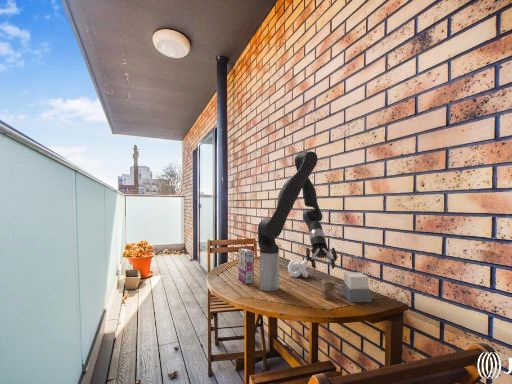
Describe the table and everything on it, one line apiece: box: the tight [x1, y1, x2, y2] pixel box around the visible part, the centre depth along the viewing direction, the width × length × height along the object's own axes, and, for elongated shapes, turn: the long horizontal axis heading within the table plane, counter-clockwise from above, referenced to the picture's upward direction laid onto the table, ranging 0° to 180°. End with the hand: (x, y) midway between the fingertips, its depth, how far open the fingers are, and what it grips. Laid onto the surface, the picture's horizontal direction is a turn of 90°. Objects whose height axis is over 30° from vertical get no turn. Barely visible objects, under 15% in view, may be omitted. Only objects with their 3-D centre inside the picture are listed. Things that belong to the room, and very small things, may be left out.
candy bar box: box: [238, 248, 255, 285], centre depth 133 cm, size 11×5×16 cm, turn 22°
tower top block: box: [343, 271, 370, 289], centre depth 108 cm, size 8×8×5 cm
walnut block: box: [321, 279, 336, 301], centre depth 108 cm, size 4×4×7 cm
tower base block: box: [341, 283, 373, 303], centre depth 107 cm, size 9×9×5 cm
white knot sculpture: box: [287, 258, 309, 278], centre depth 142 cm, size 11×12×9 cm
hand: (324, 267), depth 115 cm, fingers open, 8 cm apart
